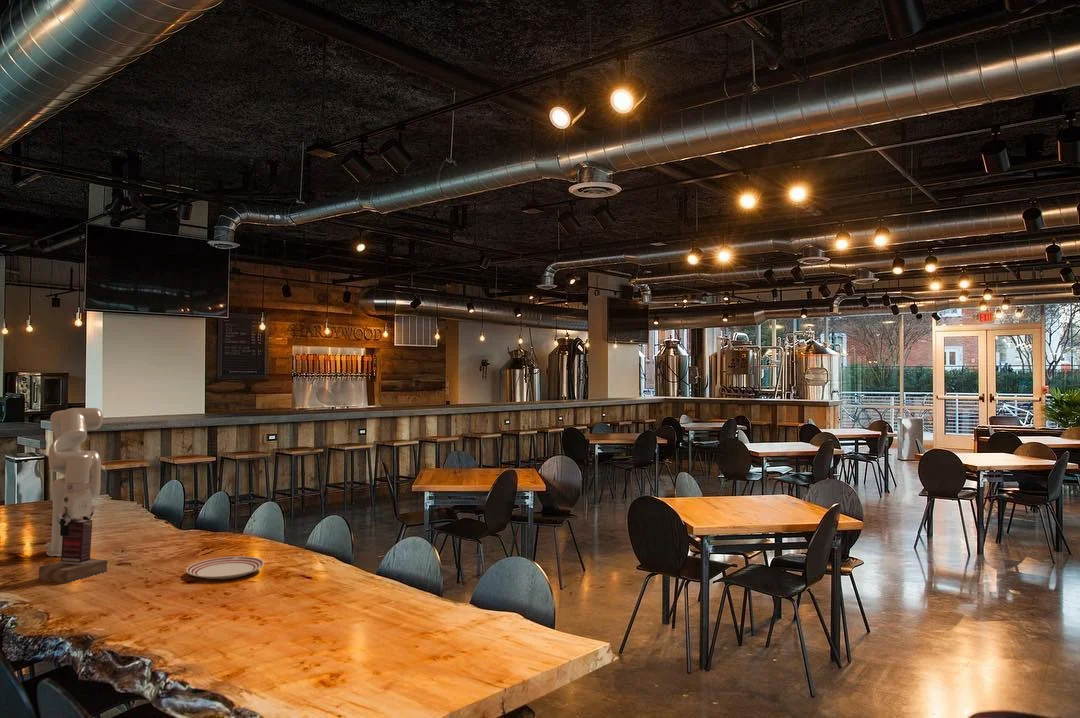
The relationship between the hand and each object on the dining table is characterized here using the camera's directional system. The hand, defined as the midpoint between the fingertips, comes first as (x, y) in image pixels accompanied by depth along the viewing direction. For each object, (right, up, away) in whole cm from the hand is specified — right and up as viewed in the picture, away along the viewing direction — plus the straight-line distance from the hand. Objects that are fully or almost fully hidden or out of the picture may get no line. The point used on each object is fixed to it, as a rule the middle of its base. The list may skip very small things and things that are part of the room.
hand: (75, 533), depth 266 cm
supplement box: (0, -11, 0) cm, 11 cm away
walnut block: (0, -16, -1) cm, 16 cm away
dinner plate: (+54, -17, +6) cm, 57 cm away
